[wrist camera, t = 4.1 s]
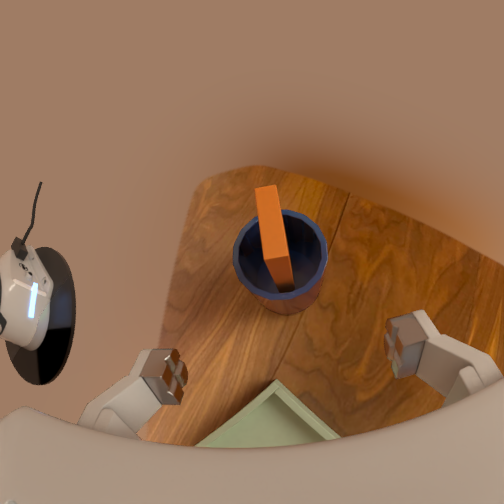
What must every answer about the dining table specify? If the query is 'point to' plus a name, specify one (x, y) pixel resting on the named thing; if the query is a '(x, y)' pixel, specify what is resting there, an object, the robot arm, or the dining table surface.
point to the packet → (274, 238)
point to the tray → (270, 423)
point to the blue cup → (302, 261)
